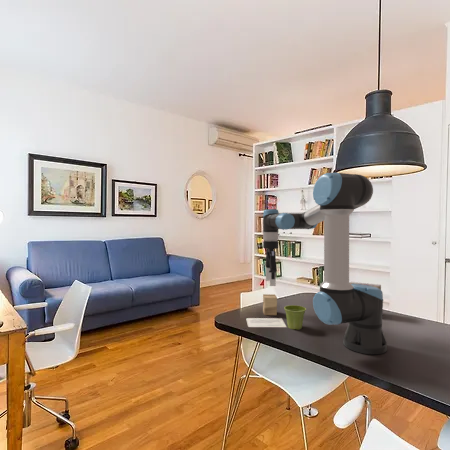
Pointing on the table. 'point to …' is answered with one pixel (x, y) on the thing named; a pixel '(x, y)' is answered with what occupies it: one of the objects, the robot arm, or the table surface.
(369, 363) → the table surface
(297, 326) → the plant pot
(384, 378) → the table surface
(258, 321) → the letter
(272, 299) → the oak block
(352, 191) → the robot arm
